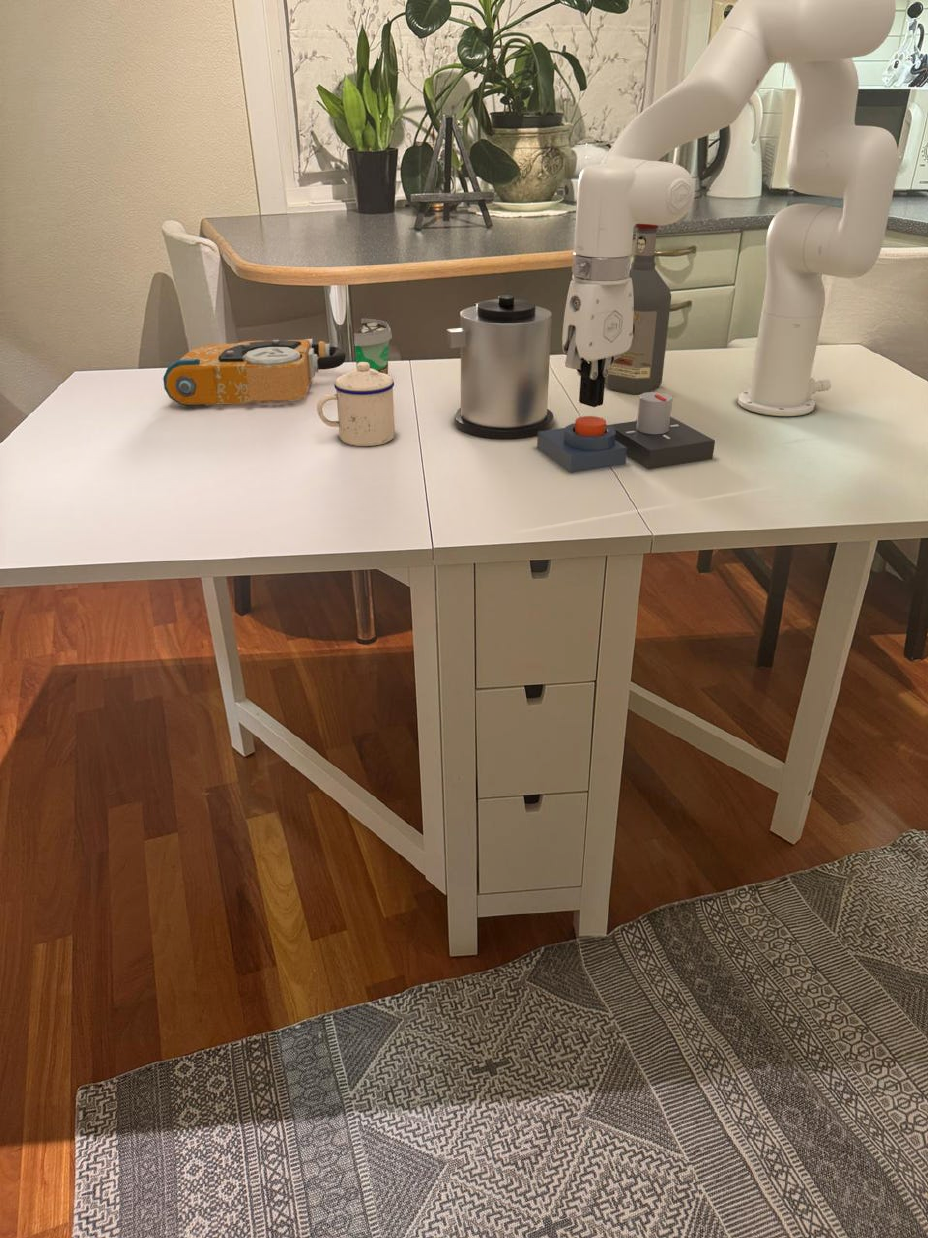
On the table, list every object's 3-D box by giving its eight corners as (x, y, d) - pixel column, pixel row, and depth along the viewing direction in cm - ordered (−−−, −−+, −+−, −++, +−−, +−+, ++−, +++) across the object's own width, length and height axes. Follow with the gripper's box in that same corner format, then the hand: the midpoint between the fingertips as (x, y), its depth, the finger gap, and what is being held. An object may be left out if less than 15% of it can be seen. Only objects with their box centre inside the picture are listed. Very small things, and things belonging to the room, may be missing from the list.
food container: (391, 390, 164) (388, 334, 159) (357, 390, 164) (353, 334, 159) (396, 371, 175) (394, 317, 170) (364, 371, 175) (361, 317, 170)
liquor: (621, 376, 172) (636, 202, 156) (665, 384, 167) (685, 206, 152) (597, 388, 165) (611, 207, 150) (643, 396, 161) (662, 212, 145)
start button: (595, 425, 135) (596, 414, 134) (610, 435, 131) (611, 423, 131) (569, 429, 134) (570, 418, 133) (583, 439, 130) (584, 427, 129)
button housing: (589, 440, 141) (591, 412, 139) (625, 464, 133) (628, 435, 130) (536, 448, 139) (538, 419, 136) (570, 473, 130) (572, 443, 128)
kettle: (518, 397, 160) (521, 279, 150) (570, 432, 145) (577, 302, 135) (425, 409, 155) (422, 287, 145) (468, 447, 139) (468, 312, 129)
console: (668, 434, 144) (670, 414, 142) (712, 459, 134) (715, 439, 133) (606, 443, 141) (608, 423, 139) (648, 470, 131) (650, 449, 129)
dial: (630, 426, 138) (633, 391, 135) (657, 422, 140) (661, 388, 137) (647, 436, 134) (650, 400, 132) (674, 432, 136) (679, 397, 133)
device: (183, 330, 169) (345, 326, 171) (190, 374, 173) (348, 370, 175) (156, 363, 150) (339, 358, 151) (165, 412, 154) (343, 407, 156)
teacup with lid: (389, 425, 148) (385, 353, 142) (402, 444, 140) (399, 368, 134) (315, 433, 145) (308, 359, 139) (325, 452, 137) (318, 375, 131)
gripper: (584, 279, 114) (574, 421, 124) (659, 265, 123) (644, 399, 132) (541, 271, 119) (535, 408, 128) (616, 258, 128) (605, 388, 137)
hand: (590, 403), depth 130 cm, fingers closed
